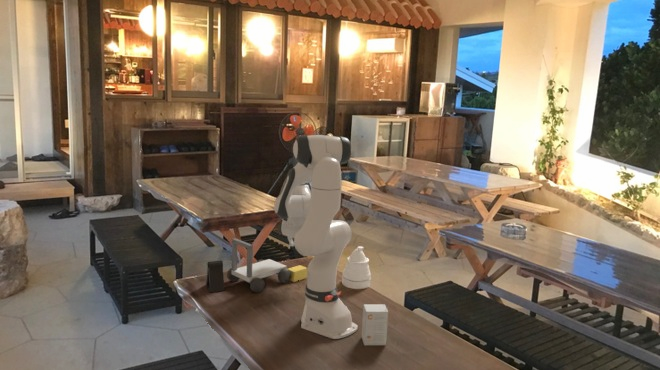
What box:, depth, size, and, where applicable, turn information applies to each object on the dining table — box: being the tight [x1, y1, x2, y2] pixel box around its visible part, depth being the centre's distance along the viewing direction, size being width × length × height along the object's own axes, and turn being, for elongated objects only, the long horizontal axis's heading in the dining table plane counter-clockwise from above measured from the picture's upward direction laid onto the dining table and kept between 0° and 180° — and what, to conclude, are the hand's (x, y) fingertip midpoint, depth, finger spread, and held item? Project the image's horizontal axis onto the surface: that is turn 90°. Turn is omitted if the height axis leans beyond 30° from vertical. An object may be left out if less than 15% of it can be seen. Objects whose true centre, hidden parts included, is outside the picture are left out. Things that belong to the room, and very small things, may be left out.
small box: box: [361, 303, 389, 346], centre depth 193 cm, size 8×6×13 cm
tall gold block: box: [287, 264, 308, 283], centre depth 248 cm, size 5×8×5 cm, turn 136°
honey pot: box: [341, 245, 372, 290], centre depth 245 cm, size 13×13×18 cm
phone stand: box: [205, 260, 225, 293], centre depth 232 cm, size 9×6×12 cm, turn 25°
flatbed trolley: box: [226, 238, 292, 294], centre depth 241 cm, size 22×18×21 cm
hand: (298, 248), depth 246 cm, fingers open, 8 cm apart
